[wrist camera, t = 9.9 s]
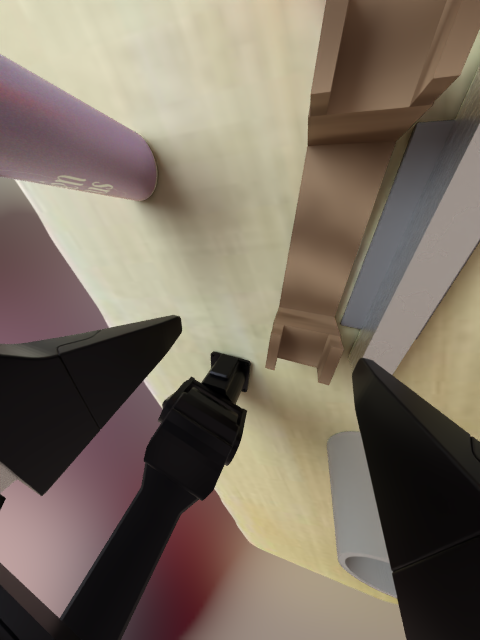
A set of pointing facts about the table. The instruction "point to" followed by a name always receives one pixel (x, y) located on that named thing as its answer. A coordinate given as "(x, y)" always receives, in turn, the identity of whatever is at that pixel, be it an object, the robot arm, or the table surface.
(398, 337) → the rail
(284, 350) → the rack
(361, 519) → the cup
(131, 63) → the table surface
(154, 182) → the beverage can
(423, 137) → the mat
